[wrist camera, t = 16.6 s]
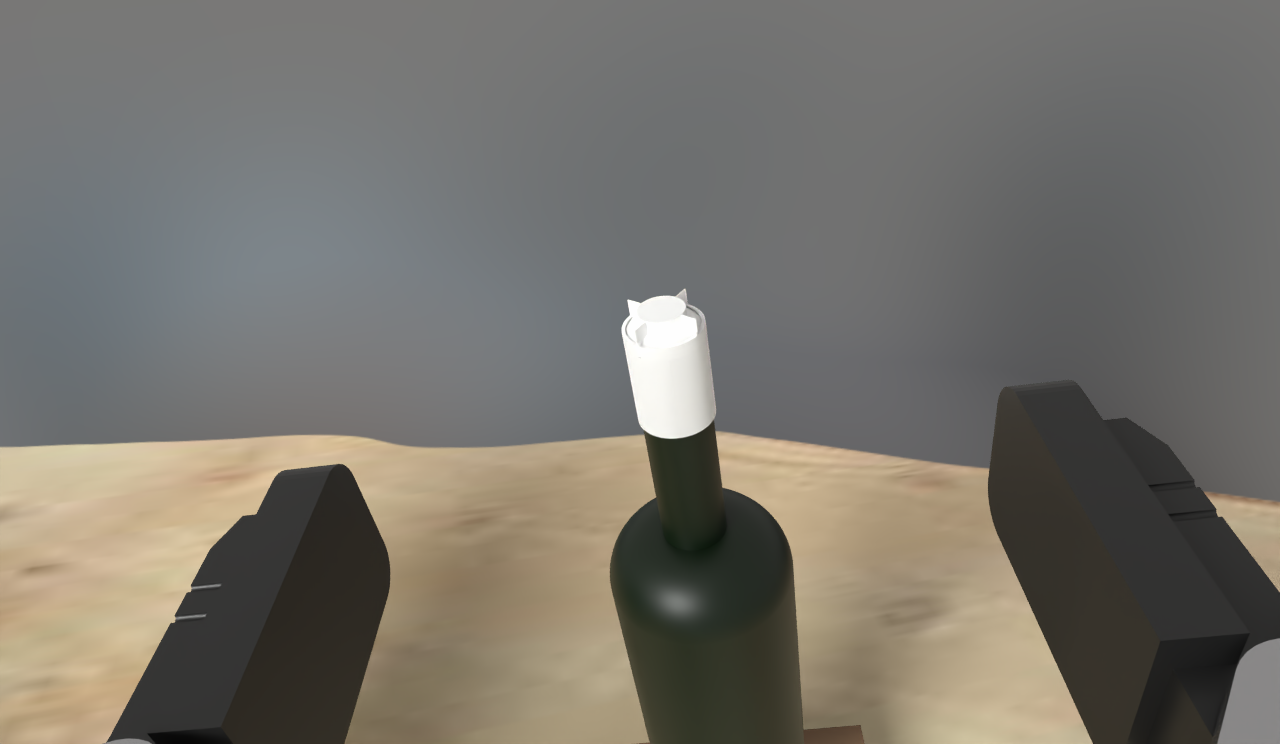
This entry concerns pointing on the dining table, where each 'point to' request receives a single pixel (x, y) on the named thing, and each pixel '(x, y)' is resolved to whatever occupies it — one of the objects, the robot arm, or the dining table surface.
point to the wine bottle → (700, 560)
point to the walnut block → (832, 735)
